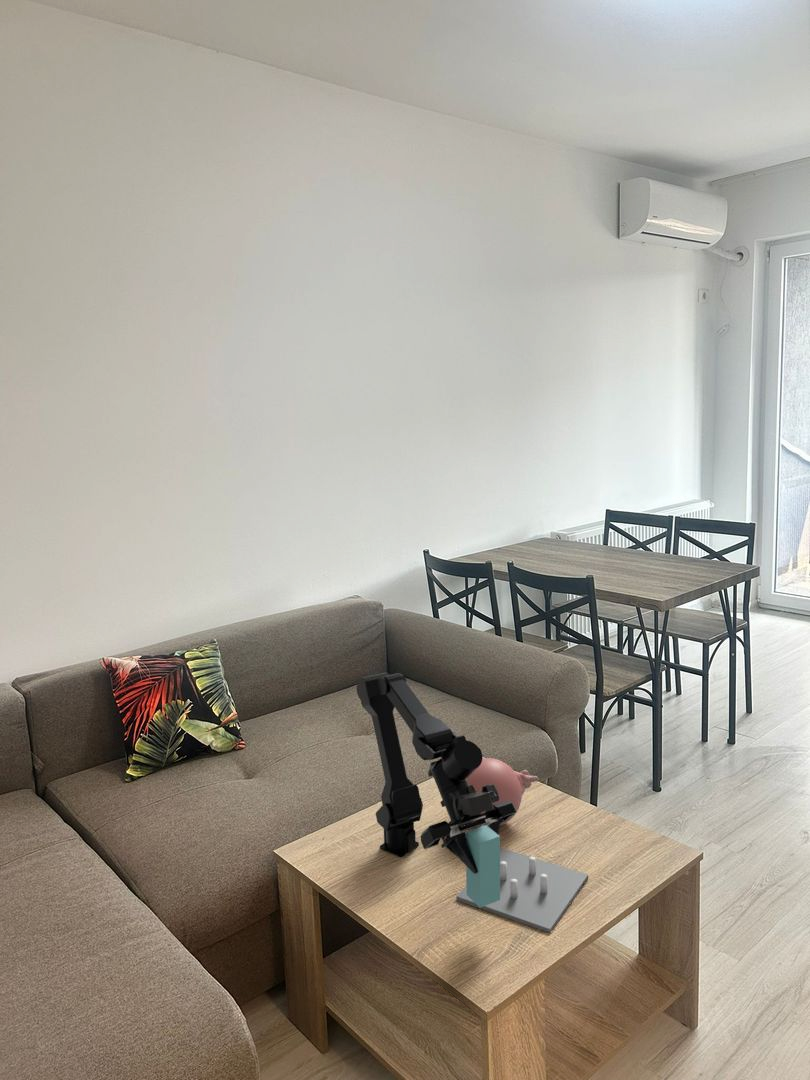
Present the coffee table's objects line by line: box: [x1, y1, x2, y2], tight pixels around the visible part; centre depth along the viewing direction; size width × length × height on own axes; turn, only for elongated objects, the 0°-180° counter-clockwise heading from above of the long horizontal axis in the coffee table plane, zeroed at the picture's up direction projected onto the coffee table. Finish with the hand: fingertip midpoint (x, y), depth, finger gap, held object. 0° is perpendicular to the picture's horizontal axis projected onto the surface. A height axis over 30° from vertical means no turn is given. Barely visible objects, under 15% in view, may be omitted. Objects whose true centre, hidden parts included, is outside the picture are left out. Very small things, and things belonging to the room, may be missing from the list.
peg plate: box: [455, 847, 589, 934], centre depth 168 cm, size 20×20×4 cm
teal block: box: [465, 825, 501, 909], centre depth 153 cm, size 4×4×13 cm
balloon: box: [466, 757, 540, 827], centre depth 192 cm, size 15×20×15 cm
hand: (487, 869), depth 152 cm, fingers closed on teal block, 4 cm apart
